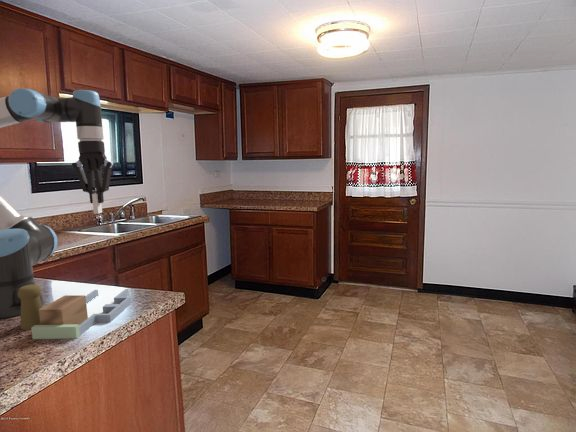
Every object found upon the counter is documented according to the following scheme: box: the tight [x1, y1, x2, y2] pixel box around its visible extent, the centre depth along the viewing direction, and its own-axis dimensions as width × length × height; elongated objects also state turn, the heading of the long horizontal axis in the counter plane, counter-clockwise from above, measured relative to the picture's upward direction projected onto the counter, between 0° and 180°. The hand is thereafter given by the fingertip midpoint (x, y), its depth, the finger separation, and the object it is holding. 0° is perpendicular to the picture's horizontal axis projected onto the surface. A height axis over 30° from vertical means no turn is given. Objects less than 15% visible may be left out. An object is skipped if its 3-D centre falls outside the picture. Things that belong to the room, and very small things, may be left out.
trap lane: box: [30, 288, 133, 340], centre depth 110 cm, size 15×30×3 cm, turn 179°
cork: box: [18, 284, 44, 331], centre depth 103 cm, size 6×6×11 cm
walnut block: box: [39, 294, 89, 325], centre depth 102 cm, size 6×10×7 cm, turn 176°
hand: (98, 213), depth 128 cm, fingers closed
